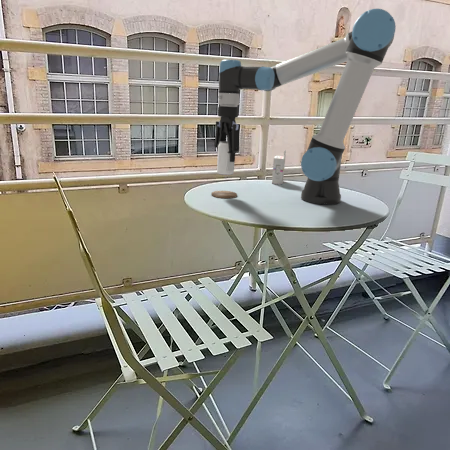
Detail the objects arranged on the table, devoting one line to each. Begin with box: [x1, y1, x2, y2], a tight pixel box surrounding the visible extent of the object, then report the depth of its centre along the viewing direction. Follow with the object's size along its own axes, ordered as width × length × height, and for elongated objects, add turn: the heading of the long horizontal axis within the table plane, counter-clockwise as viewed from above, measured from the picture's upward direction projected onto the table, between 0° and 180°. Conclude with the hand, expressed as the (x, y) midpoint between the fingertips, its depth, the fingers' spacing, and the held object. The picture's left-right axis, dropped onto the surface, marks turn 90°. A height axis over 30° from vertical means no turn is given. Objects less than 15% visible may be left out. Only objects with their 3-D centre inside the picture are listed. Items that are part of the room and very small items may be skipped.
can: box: [216, 140, 235, 176], centre depth 149 cm, size 6×6×12 cm
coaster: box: [211, 190, 238, 199], centre depth 153 cm, size 10×10×1 cm
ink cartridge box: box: [271, 149, 287, 185], centre depth 179 cm, size 9×5×15 cm, turn 168°
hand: (225, 168), depth 150 cm, fingers closed on can, 6 cm apart
